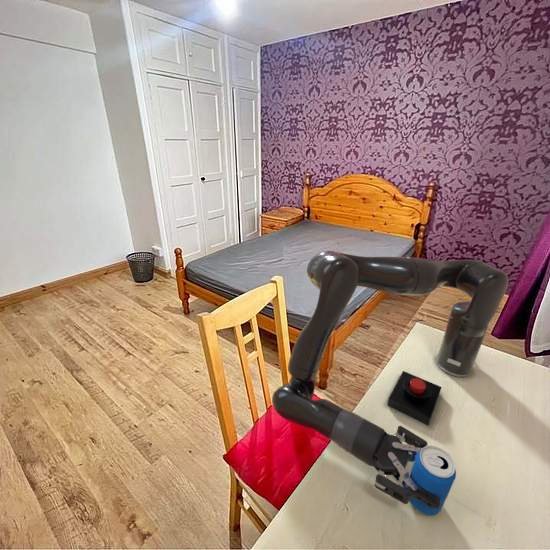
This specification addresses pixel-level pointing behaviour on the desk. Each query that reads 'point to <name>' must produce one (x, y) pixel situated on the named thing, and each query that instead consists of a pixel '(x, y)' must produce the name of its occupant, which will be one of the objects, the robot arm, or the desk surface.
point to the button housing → (414, 398)
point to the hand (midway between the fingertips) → (443, 486)
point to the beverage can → (432, 476)
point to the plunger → (417, 386)
